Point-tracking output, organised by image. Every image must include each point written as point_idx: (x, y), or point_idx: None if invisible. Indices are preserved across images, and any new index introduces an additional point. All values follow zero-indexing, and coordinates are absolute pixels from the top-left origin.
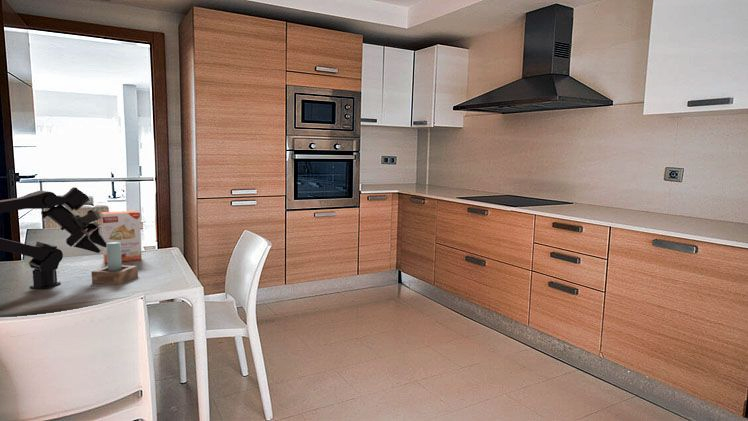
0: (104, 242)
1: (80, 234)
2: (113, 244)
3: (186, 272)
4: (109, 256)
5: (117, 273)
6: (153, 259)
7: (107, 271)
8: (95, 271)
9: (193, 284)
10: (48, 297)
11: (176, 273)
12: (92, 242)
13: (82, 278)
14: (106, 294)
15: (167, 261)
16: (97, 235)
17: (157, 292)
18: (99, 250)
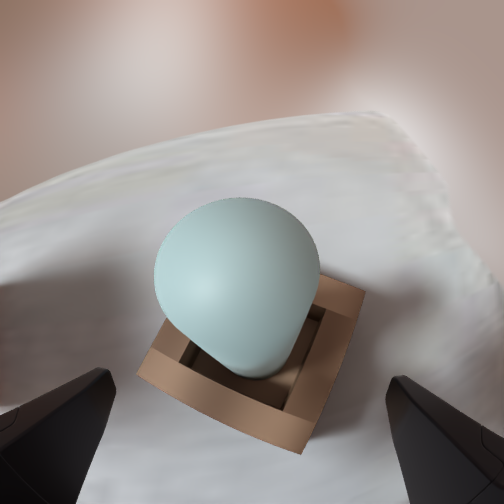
0: (85, 394)
1: None
2: (314, 248)
3: (217, 130)
4: (296, 338)
5: (363, 298)
6: (8, 250)
7: (314, 365)
8: (300, 434)
9: (356, 113)
10: None
11: (221, 149)
12: (482, 443)
13: (196, 498)
14: (466, 316)
15: (50, 204)
16: (11, 466)
17: (433, 178)
18: (410, 381)
